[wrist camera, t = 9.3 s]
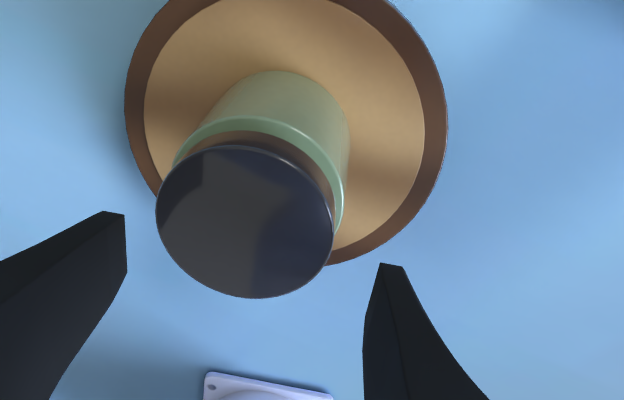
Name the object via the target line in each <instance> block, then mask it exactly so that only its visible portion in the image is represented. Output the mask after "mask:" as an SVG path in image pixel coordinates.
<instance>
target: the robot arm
mask: <svg viewBox="0 0 624 400" xmlns="http://www.w3.org/2000/svg"><path fill="white" fill-rule="evenodd" d="M126 274H127V257H126V238H125V218H124V215H123V214H117V213H112V212H107V211H102V212H99V213H97V214H95V215H93V216H91V217H89V218H87V219H85V220H83V221H81V222H79V223H77V224H75V225H74V226H72V227H70V228H68V229H66V230H64V231H62V232H60V233H58V234H56V235H54V236H52V237H50V238H48V239H46V240H44V241H43V242H41V243H39V244H36V245H34V246H32V247H30V248H28V249H26V250H23V251H21V252H19V253H17V254H15V255H13V256H11V257H8V258H6V259H4V260H2V261H0V400H49V398H50V396H51V394H52V393H53V391H54V389H55V387H56V385H57V384H58V382H59V380H60V379H61V377H62V375H63V374H64V372H65V371H66V369H67V367H68V366H69V364H70V363H71V362H72V360H73V359H74V357H75V356H76V354H77V353H78V352H79V350H80V349H81V347H82V346H83V344H84V343H85V341H86V340H87V339H88V337H89V336H90V334H91V333H92V331H93V330H94V329H95V327H96V326H97V324H98V323H99V321H100V320H101V318H102V317H103V315H104V314H105V313H106V311H107V310H108V308H109V307H110V305H111V304H112V302H113V300H114V298H115V296H116V294H117V292H118V290H119V288H120V286H121V284H122V282H123V280H124V278H125V276H126ZM362 353H363V380H364V400H489V399H488V398H487V396H486V395H485V394H484V393H483V392H482V391H481V390H480V389H479V388H478V387H477V385H476V384H475V383H474V382H473V381H472V380H471V378H470V377H469V376H468V375H467V374H466V372H465V371H464V370H463V369H462V367H461V366H460V365H459V363H458V362H457V361H456V359H455V358H454V357H453V355H452V354H451V352H450V351H449V350H448V348H447V347H446V345H445V344H444V342H443V340H442V339H441V337H440V336H439V334H438V333H437V331H436V329H435V328H434V326H433V325H432V323H431V321H430V319H429V318H428V316H427V314H426V312H425V311H424V309H423V307H422V305H421V303H420V301H419V299H418V297H417V295H416V293H415V291H414V289H413V287H412V285H411V283H410V281H409V279H408V277H407V275H406V272H405V270H404V269H403V267H402V266H396V265H391V264H385V263H380V264H379V268H378V272H377V275H376V279H375V283H374V286H373V290H372V294H371V297H370V301H369V304H368V308H367V312H366V315H365V323H364V335H363V349H362ZM203 400H334V399H333V397H332V396H331V395H329V394H326V393H321V392H316V391H311V390H306V389H300V388H295V387H290V386H285V385H280V384H275V383H269V382H264V381H259V380H254V379H249V378H243V377H238V376H233V375H228V374H223V373H218V372H208V373H207V374H206V377H205V379H204V394H203Z"/></svg>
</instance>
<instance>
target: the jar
mask: <svg viewBox="0 0 624 400" xmlns="http://www.w3.org/2000/svg"><path fill="white" fill-rule="evenodd" d="M350 147H351V136H350V129H349V125H348V122H347V119H346V116H345V114H344V112H343V110H342V108H341V107H340V105H339V104H338V102H337V101H336V100H335V98H334V97H333V96H332V95H331V94H330V93H329V92H328V91H327V90H326V89H325V88H323V87H322V86H321V85H319V84H318V83H316V82H315V81H313V80H311V79H309V78H307V77H305V76H302V75H299V74H296V73H292V72H287V71H264V72H258V73H255V74H252V75H249V76H247V77H245V78H242V79H241V80H239V81H238V82H236V83H234V84H233V85H232V86H231V87H230V88H229V89H227V91H226V92H225V93H224V94H223V95H222V97H221V98H220V99H219V100H218V101H217V103H216V104H215V105H214V106H213V107H212V109H211V110H210V111H209V112H208V114H207V115H206V116H205V117H204V118H203V120H202V121H201V122H200V123H199V125H198V126H197V127H196V128H195V129H194V131H193V132H192V133H191V134H190V135H189V137H188V138H187V139H186V140H185V142H184V143H183V144H182V145H181V147H180V149H179V150H178V152H177V153H176V156H175V158H174V161H173V163H172V167H171V170H170V172H169V173H168V174H167V176H166V177H165V179H164V181H163V182H162V184H161V186H160V189H159V191H158V195H157V199H156V209H155V215H156V224H157V228H158V232H159V235H160V238H161V240H162V243H163V244H164V246H165V248H166V250H167V252H168V253H169V254H170V256H171V257H172V259H173V260H174V261H175V262H176V263H177V264H178V265H179V267H180V268H181V269H183V270H184V271H185V272H186V273H187V274H188V275H189V276H191V277H192V278H194V279H195V280H196V281H198V282H200V283H201V284H203V285H205V286H207V287H209V288H211V289H213V290H215V291H218V292H221V293H224V294H227V295H231V296H235V297H241V298H249V299H263V298H272V297H278V296H281V295H285V294H288V293H291V292H293V291H295V290H297V289H299V288H301V287H302V286H304V285H306V284H307V283H308V282H310V281H311V280H312V279H313V278H314V277H315V276H316V275H317V274H318V273H319V272H320V271H321V270H322V268H323V267H324V265H325V264H326V262H327V260H328V258H329V256H330V253H331V250H332V247H333V241H334V236H335V234H336V233H337V230H338V228H339V226H340V224H341V220H342V217H343V212H344V205H345V195H346V185H347V176H348V166H349V156H350Z"/></svg>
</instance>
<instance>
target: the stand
mask: <svg viewBox="0 0 624 400" xmlns="http://www.w3.org/2000/svg"><path fill="white" fill-rule="evenodd" d="M264 71H287V72H292V73H296V74H299V75H302V76H305V77H307V78H309V79H311V80H313V81H315V82H316V83H318V84H319V85H321V86H322V87H323V88H325V89H326V90H327V91H328V92H329V93H330V94H331V95H332V96H333V97H334V98H335V100H336V101H337V102H338V104H339V105H340V107H341V108H342V110H343V112H344V114H345V116H346V119H347V122H348V125H349V129H350V136H351V147H350V156H349V166H348V176H347V185H346V195H345V205H344V212H343V217H342V220H341V224H340V226H339V228H338V230H337V233H336V234H335V236H334V241H333V247H332V250H331V253H330V256H329V258H328V260H327V262H326V264H325V265H324V266H328V265H333V264H338V263H341V262H344V261H348V260H351V259H354V258H356V257H359V256H361V255H363V254H366V253H368V252H370V251H372V250H374V249H375V248H377V247H379V246H380V245H382V244H384V243H386V242H387V241H388V240H390V239H391V238H392V237H393V236H395V235H396V234H397V233H399V232H400V231H401V230H402V229H403V228H404V227H405V226H406V225H407V224H408V223H409V222H410V221H411V220H412V219H413V218H414V217H415V215H416V214H417V213H418V212H419V210H420V209H421V208H422V206H423V205H424V204H425V202H426V200H427V199H428V197H429V195H430V193H431V192H432V190H433V188H434V186H435V184H436V181H437V179H438V176H439V174H440V171H441V169H442V165H443V161H444V157H445V152H446V147H447V136H448V114H447V104H446V99H445V94H444V89H443V85H442V82H441V79H440V76H439V73H438V70H437V68H436V65H435V62H434V60H433V58H432V56H431V54H430V52H429V50H428V49H427V47H426V45H425V43H424V41H423V40H422V38H421V37H420V35H419V34H418V33H417V31H416V30H415V28H414V27H413V26H412V24H411V23H410V22H409V21H408V19H407V18H406V17H405V16H404V15H403V14H402V13H401V12H400V11H399V10H398V9H397V8H396V7H395V6H394V5H393V4H392V3H391V2H389V1H388V0H169V1H168V2H167V3H166V4H165V5H164V6H163V7H162V8H161V9H160V11H159V12H158V13H157V14H156V15H155V16H154V18H153V19H152V20H151V22H150V23H149V25H148V26H147V28H146V29H145V30H144V32H143V34H142V36H141V38H140V40H139V42H138V44H137V46H136V48H135V50H134V53H133V56H132V59H131V62H130V66H129V69H128V73H127V79H126V85H125V99H124V113H125V122H126V130H127V134H128V138H129V142H130V147H131V150H132V153H133V155H134V158H135V160H136V163H137V166H138V168H139V170H140V172H141V174H142V175H143V177H144V179H145V181H146V183H147V185H148V186H149V188H150V189H151V191H152V192H153V193H154V195H155V196H156V198H157V195H158V191H159V189H160V186H161V184H162V182H163V181H164V179H165V177H166V176H167V174H168V173H169V172H170V170H171V167H172V163H173V161H174V158H175V156H176V153H177V152H178V150H179V149H180V147H181V145H182V144H183V143H184V142H185V140H186V139H187V138H188V137H189V135H190V134H191V133H192V132H193V131H194V129H195V128H196V127H197V126H198V125H199V123H200V122H201V121H202V120H203V118H204V117H205V116H206V115H207V114H208V112H209V111H210V110H211V109H212V107H213V106H214V105H215V104H216V103H217V101H218V100H219V99H220V98H221V97H222V95H223V94H224V93H225V92H226V91H227V89H229V88H230V87H231V86H232V85H233V84H234V83H236V82H238V81H239V80H241V79H242V78H245V77H247V76H249V75H252V74H255V73H258V72H264Z"/></svg>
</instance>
